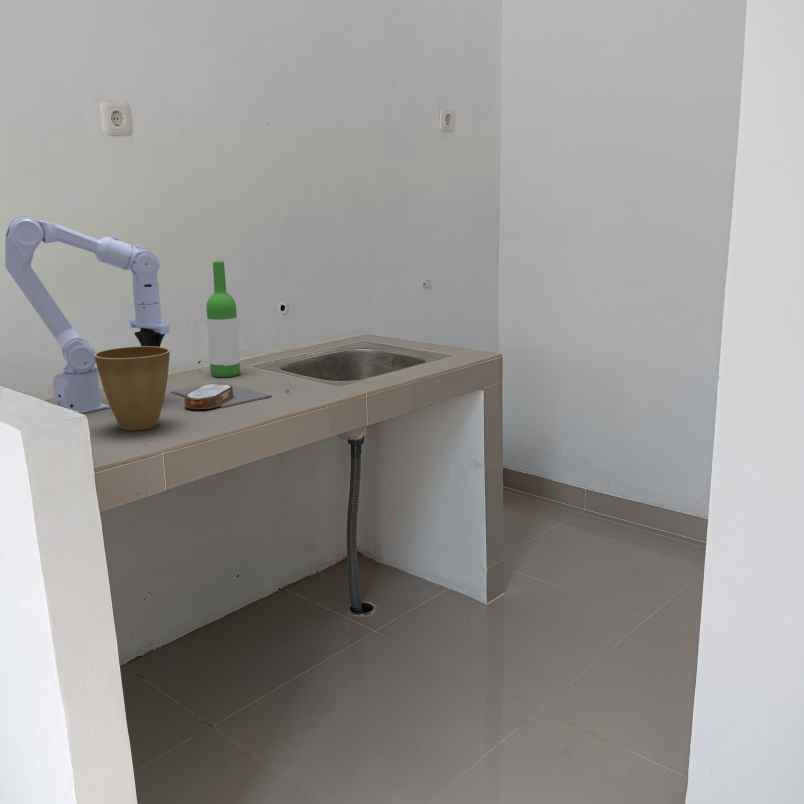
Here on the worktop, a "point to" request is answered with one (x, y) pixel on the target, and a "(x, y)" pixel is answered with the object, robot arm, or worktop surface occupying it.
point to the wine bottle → (222, 327)
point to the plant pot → (134, 384)
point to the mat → (238, 392)
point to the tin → (208, 396)
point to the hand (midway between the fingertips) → (152, 361)
